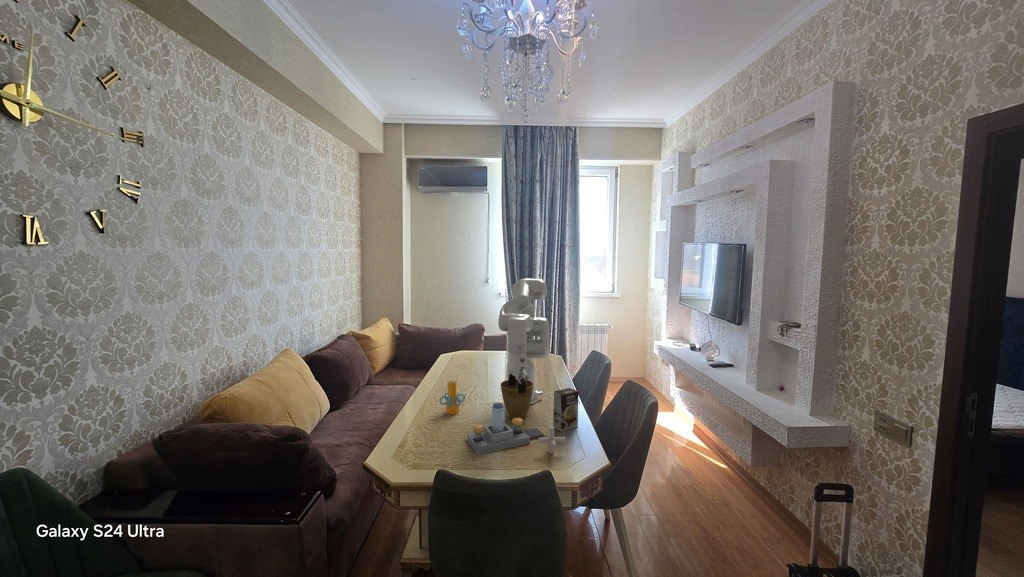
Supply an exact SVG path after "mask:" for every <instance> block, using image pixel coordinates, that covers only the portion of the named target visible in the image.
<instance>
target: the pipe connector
mask: <svg viewBox="0 0 1024 577" xmlns="http://www.w3.org/2000/svg"><path fill="white" fill-rule="evenodd" d="M546 435H547V437H540V438H537V439H538V440H537V441H538V444H543V443H544V444H547V443H548V444H549V446H548V448H549V451H548V452H549V454H551V455H554V454H555V449H557V443H566V437H565V436H555V427H553V426H549V432H548V433H547V434H546Z"/></svg>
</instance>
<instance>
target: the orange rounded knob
mask: <svg viewBox="0 0 1024 577" xmlns="http://www.w3.org/2000/svg"><path fill="white" fill-rule="evenodd" d="M484 426H485V425H482V424H475V425H473V426H471V427H472V433H475V439H481V438H482V432H484Z"/></svg>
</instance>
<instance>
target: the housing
mask: <svg viewBox="0 0 1024 577" xmlns="http://www.w3.org/2000/svg"><path fill="white" fill-rule="evenodd" d="M483 426H484V432H482V438H481V439H475V433H473V432H471V433H467V434H466V441H467V442H468V443H469V445H470V446H471V447H472V449H473V450H474V451H475V453H476V454H477V455H480V454H485V453H489V452H495V451H499V450H504V449H509V448H514V447H518V446H523V445H527V444H530V443H531V439H530V437H529V436H528V435H527V434H526V433H525V432H524V431H522V430H523V429H521V431H520V432H515V431H514V425H508V424H506V423H505V422H504V432H499V433H492V424H489V425H483Z"/></svg>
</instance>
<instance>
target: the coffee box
mask: <svg viewBox="0 0 1024 577" xmlns="http://www.w3.org/2000/svg"><path fill="white" fill-rule="evenodd" d="M552 416H553V417H552V419H553V420H552V421H553V422H552V427H554V429H556V430H558V431H559V432H565V431H569V430H572V429H576V428H578V425H579V424H578V423H579V391H578V390H576V389H573V388H570V387H567V388H564V389H559V390H554V391H553V415H552Z"/></svg>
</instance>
